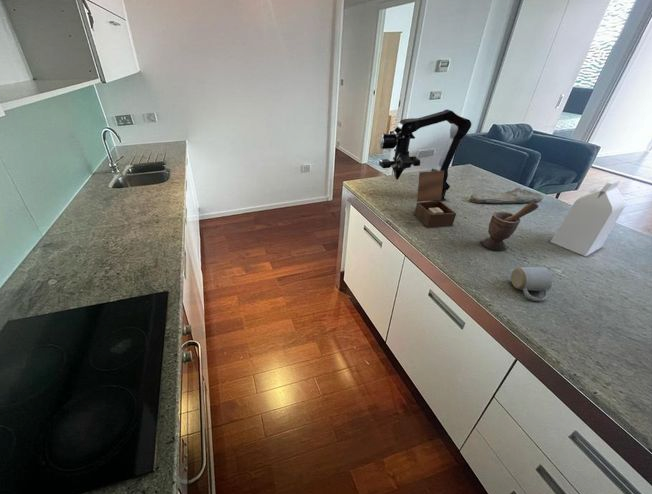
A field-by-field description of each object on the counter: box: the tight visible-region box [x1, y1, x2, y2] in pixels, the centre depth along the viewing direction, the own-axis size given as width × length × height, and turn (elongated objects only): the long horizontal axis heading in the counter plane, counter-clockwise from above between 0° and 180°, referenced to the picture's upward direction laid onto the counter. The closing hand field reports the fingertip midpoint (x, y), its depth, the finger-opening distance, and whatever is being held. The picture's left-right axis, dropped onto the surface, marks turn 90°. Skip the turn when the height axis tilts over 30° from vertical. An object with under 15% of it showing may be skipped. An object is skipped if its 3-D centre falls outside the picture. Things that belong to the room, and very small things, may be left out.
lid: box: [416, 171, 444, 203], centre depth 135 cm, size 13×11×1 cm
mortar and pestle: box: [482, 202, 539, 252], centre depth 110 cm, size 12×9×20 cm
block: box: [428, 208, 444, 214], centre depth 133 cm, size 5×5×5 cm
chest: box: [413, 200, 457, 229], centre depth 133 cm, size 13×11×6 cm
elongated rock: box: [469, 187, 544, 205], centre depth 149 cm, size 35×5×10 cm
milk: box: [550, 179, 627, 257], centre depth 108 cm, size 12×12×26 cm
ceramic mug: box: [510, 266, 553, 302], centre depth 92 cm, size 11×8×8 cm
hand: (396, 179), depth 148 cm, fingers closed
